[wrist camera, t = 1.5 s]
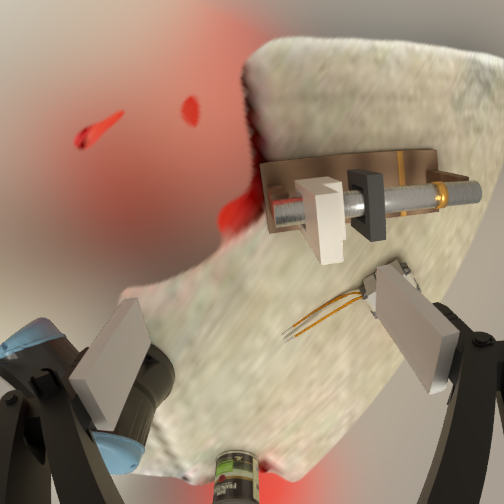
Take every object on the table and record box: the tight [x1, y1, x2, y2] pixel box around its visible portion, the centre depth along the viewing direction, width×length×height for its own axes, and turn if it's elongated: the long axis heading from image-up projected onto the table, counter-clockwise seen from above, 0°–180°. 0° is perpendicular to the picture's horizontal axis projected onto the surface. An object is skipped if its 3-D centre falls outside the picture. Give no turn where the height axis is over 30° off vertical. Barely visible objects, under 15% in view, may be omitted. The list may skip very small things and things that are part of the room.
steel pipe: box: [272, 180, 482, 228], centre depth 34 cm, size 27×3×3 cm, turn 98°
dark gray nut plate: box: [347, 169, 386, 242], centre depth 34 cm, size 2×7×7 cm, turn 9°
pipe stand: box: [260, 150, 469, 234], centre depth 41 cm, size 28×10×10 cm, turn 98°
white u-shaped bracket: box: [294, 177, 346, 265], centre depth 32 cm, size 4×6×12 cm, turn 8°
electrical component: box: [282, 260, 421, 344], centre depth 51 cm, size 24×6×5 cm, turn 127°
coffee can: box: [212, 450, 259, 504], centre depth 59 cm, size 10×10×14 cm
